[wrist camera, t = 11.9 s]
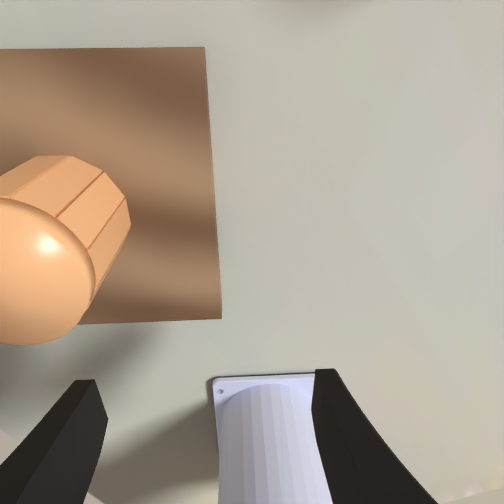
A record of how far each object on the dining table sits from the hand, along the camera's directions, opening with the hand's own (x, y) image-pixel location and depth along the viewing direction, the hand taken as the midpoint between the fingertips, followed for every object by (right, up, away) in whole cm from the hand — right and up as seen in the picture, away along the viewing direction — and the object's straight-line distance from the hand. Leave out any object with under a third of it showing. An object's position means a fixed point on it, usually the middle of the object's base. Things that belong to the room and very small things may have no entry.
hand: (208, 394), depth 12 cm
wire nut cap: (-7, +7, +5) cm, 11 cm away
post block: (-7, +7, +6) cm, 12 cm away
